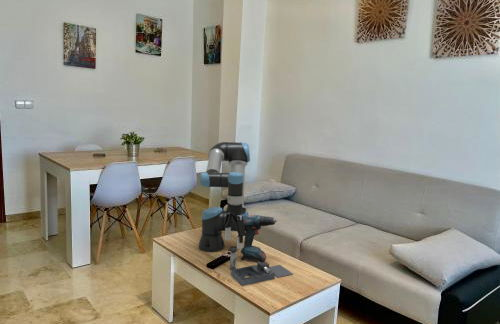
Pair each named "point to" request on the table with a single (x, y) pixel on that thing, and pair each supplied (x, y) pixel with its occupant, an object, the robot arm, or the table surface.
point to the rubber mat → (280, 271)
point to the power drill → (251, 227)
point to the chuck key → (233, 257)
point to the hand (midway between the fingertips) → (233, 244)
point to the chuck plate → (253, 274)
